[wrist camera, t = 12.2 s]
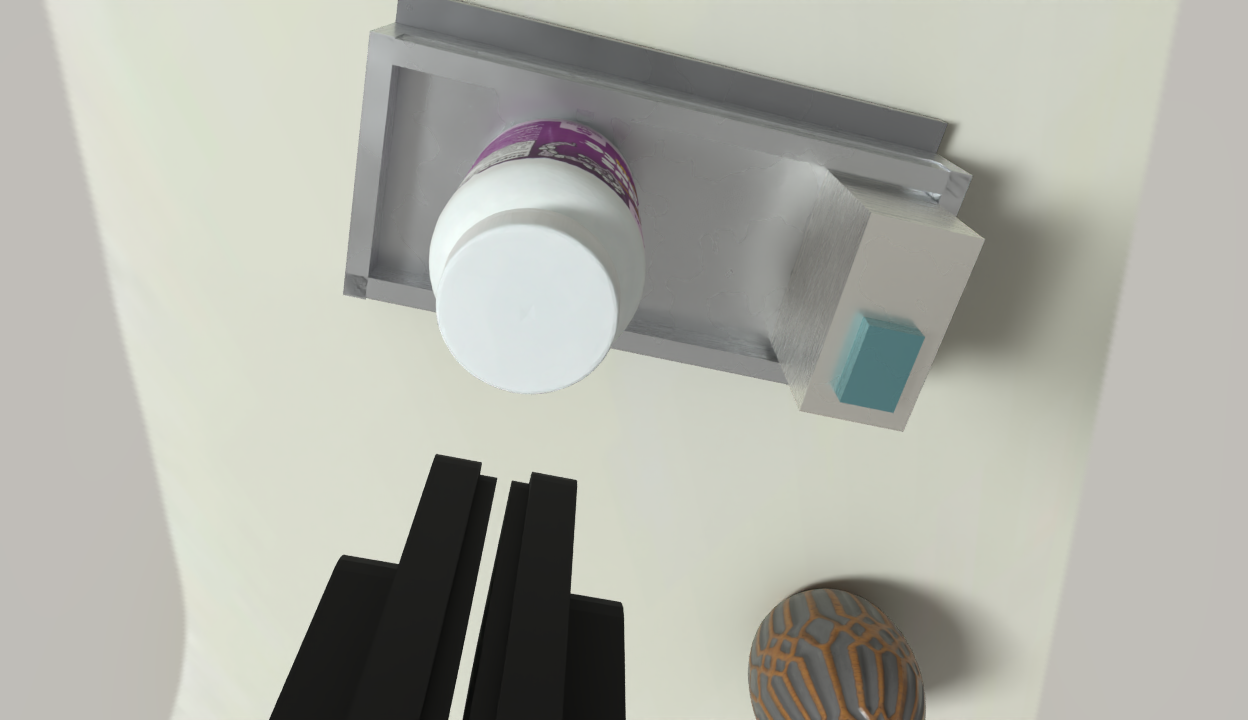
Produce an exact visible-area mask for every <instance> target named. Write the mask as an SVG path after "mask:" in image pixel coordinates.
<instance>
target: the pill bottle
mask: <svg viewBox="0 0 1248 720" xmlns="http://www.w3.org/2000/svg"><path fill="white" fill-rule="evenodd" d="M429 271H430V280H431V285H432V289H433V292H434V295H435V298H436V314H437V321H438V325H439V329H440V332H441V335H442V337H443V339H444V342H445V343H446V345H447V347H448V348H449V350H450V352H451V354H452V355H453V356H454V358H455V359H456V360H457V361H458V362H459V363H460V364H461V365H462V366H463V367H464V368H465V369H466V370H467V371H468V372H469V373H471V374H472V375H473V376H475V377H476V378H478V379H479V380H481V381H483V382H485V383H487V384H489V385H491V386H493V387H496V388H499V389H501V390H505V391H509V392H512V393H519V394H542V393H549V392H553V391H557V390H560V389H563V388H566V387H569V386H571V385H573V384H575V383H577V382H579V381H580V380H582V379H583V378H585V377H586V376H588V375H589V374H590V373H591V372H592V371H594V369H595V368H596V367H597V366H598V365H599V364H600V363H601V362H602V361H603V359H604V358H605V356H606V355H607V353H608V351H609V350H610V348H611V346H612V343H613V342H614V341H615V340H616V339H617V338H618V337H619V336H620V335H621V334H622V333H623V331H624V330H625V329H626V327H627V326H628V325H629V323H630V321H631V320H632V318H633V316H634V314H635V312H636V310H637V308H638V305H639V303H640V300H641V297H642V293H643V288H644V283H645V271H646V260H645V246H644V240H643V233H642V224H641V217H640V210H639V203H638V197H637V192H636V187H635V183H634V179H633V176H632V173H631V170H630V168H629V166H628V164H627V162H626V160H625V159H624V157H623V156H622V154H621V153H620V152H619V150H618V149H617V148H616V147H615V146H614V145H613V144H612V143H611V142H610V141H609V140H608V139H607V138H606V137H605V136H603V135H602V134H600V133H599V132H597V131H596V130H594V129H592V128H591V127H589V126H587V125H584V124H582V123H579V122H577V121H572V120H568V119H563V118H539V119H533V120H529V121H525V122H522V123H519V124H516V125H514V126H512V127H510V128H508V129H507V130H505V131H504V132H502V133H501V134H500V135H498V136H497V137H496V138H495V139H494V140H493V141H491V142H490V144H489V145H488V146H487V147H486V148H485V149H484V150H483V152H482V153H481V154H480V156H479V157H478V158H477V160H476V161H475V163H474V165H473V166H472V168H471V169H470V170H469V172H468V173H467V175H466V176H465V178H464V180H463V181H462V182H461V184H460V186H459V187H458V189H457V190H456V192H455V193H454V194H453V196H452V197H451V198H450V200H449V201H448V202H447V204H446V205H445V207H444V209H443V211H442V212H441V214H440V216H439V218H438V221H437V223H436V226H435V230H434V233H433V236H432V240H431V245H430V253H429Z"/></svg>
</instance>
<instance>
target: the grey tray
mask: <svg viewBox="0 0 1248 720" xmlns="http://www.w3.org/2000/svg"><path fill="white" fill-rule="evenodd" d="M539 118H563V119H568V120H572V121H577V122H579V123H582V124H584V125H587V126H589V127H591V128H592V129H594V130H596V131H597V132H599V133H600V134H602V135H603V136H605V137H606V138H607V139H608V140H609V141H610V142H611V143H612V144H613V145H614V146H615V147H616V148H617V149H618V150H619V152H620V153H621V154H622V156H623V157H624V159H625V160H626V162H627V164H628V166H629V168H630V170H631V173H632V176H633V179H634V183H635V187H636V192H637V197H638V203H639V210H640V217H641V224H642V233H643V240H644V246H645V260H646V271H645V283H644V288H643V293H642V297H641V300H640V303H639V305H638V308H637V310H636V312H635V314H634V316H633V318H632V320H631V321H630V323H629V325H628V326H627V327H626V329H625V330H624V331H623V333H622V334H621V335H620V336H619V337H618V338H617V339H616V340H615V341H614V342H613V343H612V346H611V348H612V349H617V350H622V351H627V352H632V353H637V354H642V355H647V356H651V357H656V358H661V359H666V360H671V361H676V362H681V363H686V364H690V365H695V366H700V367H705V368H710V369H715V370H720V371H725V372H729V373H734V374H739V375H744V376H749V377H754V378H759V379H764V380H768V381H773V382H778V383H783V384H788V385H789V387H790V389H791V392H792V394H793V397H794V399H795V401H796V404H797V406H798V408H799V411H803V412H808V413H813V414H818V415H823V416H828V417H833V418H838V419H843V420H848V421H852V422H857V423H862V424H867V425H872V426H877V427H882V428H887V429H892V430H897V431H902V432H903V431H904V429H905V426H906V424H907V422H908V419H909V417H910V415H911V412H912V410H913V408H914V405H915V403H916V401H917V398H918V396H919V394H920V391H921V389H922V387H923V384H924V382H925V380H926V377H927V375H928V372H929V370H930V368H931V365H932V363H933V361H934V358H935V356H936V354H937V351H938V349H939V347H940V344H941V342H942V340H943V337H944V335H945V333H946V330H947V328H948V326H949V323H950V321H951V319H952V316H953V314H954V312H955V309H956V307H957V305H958V302H959V300H960V298H961V295H962V293H963V291H964V288H965V286H966V284H967V281H968V279H969V277H970V274H971V272H972V270H973V267H974V265H975V263H976V260H977V258H978V256H979V253H980V251H981V249H982V246H983V244H984V242H985V239H984V238H983V237H981V236H980V235H979V234H977V233H976V232H975V231H973V230H972V229H971V228H969V227H968V226H967V225H966V224H964V223H963V222H962V221H960V220H959V219H958V218H956V216H957V214H958V212H959V209H960V207H961V204H962V202H963V199H964V197H965V194H966V192H967V190H968V187H969V185H970V182H971V180H972V177H973V175H971V174H969V173H968V172H966V171H964V170H963V169H961V168H960V167H958V166H956V165H955V164H953V163H951V162H950V161H948V160H946V159H945V158H943V157H942V156H940V155H938V154H937V150H938V147H939V145H940V142H941V140H942V137H943V134H944V132H945V129H946V127H947V124H948V123H946V122H944V121H942V120H940V119H936V118H932V117H928V116H924V115H920V114H916V113H912V112H908V111H904V110H900V109H896V108H892V107H888V106H884V105H880V104H876V103H872V102H868V101H864V100H859V99H855V98H851V97H847V96H843V95H839V94H835V93H831V92H827V91H823V90H819V89H815V88H811V87H807V86H803V85H799V84H795V83H791V82H787V81H783V80H779V79H774V78H770V77H766V76H762V75H758V74H754V73H750V72H746V71H742V70H738V69H734V68H730V67H726V66H722V65H718V64H714V63H710V62H706V61H702V60H698V59H694V58H689V57H685V56H681V55H677V54H673V53H669V52H665V51H661V50H657V49H653V48H649V47H645V46H641V45H637V44H633V43H629V42H625V41H621V40H617V39H613V38H609V37H604V36H600V35H596V34H592V33H588V32H584V31H580V30H576V29H572V28H568V27H564V26H560V25H556V24H552V23H548V22H544V21H540V20H536V19H532V18H528V17H524V16H519V15H515V14H511V13H507V12H503V11H499V10H495V9H491V8H487V7H483V6H479V5H475V4H471V3H467V2H463V1H459V0H398V5H397V14H396V22H395V23H392V24H389V25H386V26H383V27H380V28H377V29H374V30H371V31H370V36H369V45H368V55H367V65H366V75H365V85H364V95H363V104H362V114H361V124H360V134H359V144H358V153H357V163H356V173H355V183H354V193H353V203H352V212H351V222H350V232H349V242H348V252H347V262H346V271H345V281H344V291H343V295H347V296H352V297H356V298H361V299H366V298H368V299H373V300H378V301H383V302H388V303H393V304H398V305H403V306H408V307H412V308H417V309H422V310H427V311H432V312H436V298H435V295H434V292H433V289H432V285H431V280H430V271H429V253H430V245H431V240H432V236H433V233H434V230H435V226H436V223H437V221H438V218H439V216H440V214H441V212H442V211H443V209H444V207H445V205H446V204H447V202H448V201H449V200H450V198H451V197H452V196H453V194H454V193H455V192H456V190H457V189H458V187H459V186H460V184H461V182H462V181H463V180H464V178H465V176H466V175H467V173H468V172H469V170H470V169H471V168H472V166H473V165H474V163H475V161H476V160H477V158H478V157H479V156H480V154H481V153H482V152H483V150H484V149H485V148H486V147H487V146H488V145H489V144H490V142H491V141H493V140H494V139H495V138H496V137H497V136H498V135H500V134H501V133H502V132H504V131H505V130H507V129H508V128H510V127H512V126H514V125H516V124H519V123H522V122H525V121H529V120H533V119H539Z"/></svg>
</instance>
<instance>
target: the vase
mask: <svg viewBox="0 0 1248 720" xmlns="http://www.w3.org/2000/svg"><path fill="white" fill-rule="evenodd" d="M748 681H749V691H750V697H751V703H752V707H753V711H754V714H755V717H756V720H925V715H926V704H925V692H924V685H923V681H922V676H921V673H920V669H919V667H918V664H917V661H916V659H915V657H914V655H913V653H912V651H911V648H910V646H909V645H908V643H907V641H906V640H905V638H904V636H903V634H902V633H901V632H900V630H899V629H898V628H897V627H896V625H895V624H894V623H893V622H892V621H891V619H890V618H889V617H888V616H886V615H885V614H884V613H883V612H882V611H881V610H880V609H879V608H878V607H876V606H875V605H873V604H872V603H871V602H869V601H868V600H866V599H864V598H862V597H860V596H858V595H855V594H852V593H849V592H846V591H842V590H837V589H814V590H808V591H804V592H801V593H798V594H796V595H793V596H791V597H789V598H787V599H786V600H784V601H782V602H781V603H780V604H778V605H777V606H776V607H775V608H774V609H773V610H772V611H771V612H770V613H769V614H768V615H767V616H766V617H765V619H764V620H763V621H762V623H761V624H760V626H759V628H758V630H757V632H756V635H755V637H754V640H753V643H752V647H751V652H750V656H749V666H748Z"/></svg>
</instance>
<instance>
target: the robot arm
mask: <svg viewBox="0 0 1248 720" xmlns="http://www.w3.org/2000/svg"><path fill="white" fill-rule="evenodd" d="M481 466H482V462H477V461H471V460H466V459H460V458H455V457H450V456H444V455H439V454H436V455H435V458H434V460H433V463H432V466H431V469H430V472H429V475H428V478H427V481H426V484H425V487H424V490H423V493H422V496H421V499H420V502H419V505H418V508H417V511H416V514H415V517H414V520H413V523H412V526H411V529H410V532H409V535H408V538H407V541H406V544H405V547H404V550H403V553H402V556H401V559H400V562H399V564H395V563H389V562H383V561H377V560H371V559H365V558H359V557H354V556H348V555H342V556H341V557H340V559H339V560H338V562H337V564H336V566H335V568H334V570H333V573H332V575H331V577H330V580H329V582H328V584H327V586H326V589H325V591H324V593H323V596H322V598H321V600H320V603H319V605H318V607H317V610H316V612H315V614H314V617H313V619H312V621H311V624H310V626H309V628H308V631H307V633H306V635H305V638H304V640H303V642H302V645H301V647H300V649H299V652H298V654H297V656H296V658H295V661H294V663H293V665H292V668H291V670H290V672H289V675H288V677H287V679H286V682H285V684H284V686H283V689H282V691H281V693H280V696H279V698H278V700H277V703H276V705H275V707H274V710H273V712H272V714H271V717H270V719H269V720H448V718H449V713H450V708H451V704H452V699H453V694H454V689H455V684H456V679H457V674H458V670H459V665H460V660H461V655H462V650H463V645H464V640H465V635H466V630H467V625H468V620H469V615H470V611H471V606H472V601H473V596H474V591H475V586H476V581H477V576H478V571H479V566H480V561H481V556H482V551H483V546H484V541H485V536H486V532H487V527H488V522H489V517H490V512H491V507H492V502H493V497H494V492H495V487H496V482H497V478H495V477H490V476H484V475H480V471H481ZM576 496H577V480H573V479H568V478H563V477H557V476H552V475H546V474H541V473H536V472H532V474H531V478H530V482H529V484H527V483H522V482H517V481H512V483H511V487H510V492H509V496H508V501H507V506H506V511H505V515H504V520H503V525H502V529H501V534H500V539H499V544H498V548H497V553H496V558H495V562H494V567H493V572H492V577H491V581H490V586H489V591H488V595H487V600H486V605H485V610H484V614H483V619H482V624H481V628H480V633H479V638H478V643H477V647H476V652H475V657H474V662H473V667H472V672H471V678H470V683H469V688H468V694H467V699H466V704H465V710H464V715H463V720H626V711H625V649H624V612H623V606H622V603H621V602H617V601H611V600H605V599H599V598H594V597H588V596H582V595H576V594H570V591H571V575H572V559H573V543H574V528H575V512H576Z"/></svg>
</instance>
